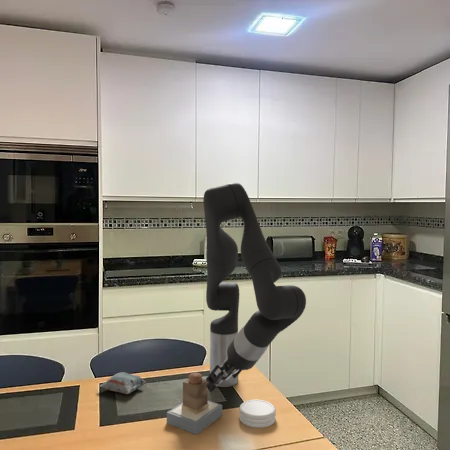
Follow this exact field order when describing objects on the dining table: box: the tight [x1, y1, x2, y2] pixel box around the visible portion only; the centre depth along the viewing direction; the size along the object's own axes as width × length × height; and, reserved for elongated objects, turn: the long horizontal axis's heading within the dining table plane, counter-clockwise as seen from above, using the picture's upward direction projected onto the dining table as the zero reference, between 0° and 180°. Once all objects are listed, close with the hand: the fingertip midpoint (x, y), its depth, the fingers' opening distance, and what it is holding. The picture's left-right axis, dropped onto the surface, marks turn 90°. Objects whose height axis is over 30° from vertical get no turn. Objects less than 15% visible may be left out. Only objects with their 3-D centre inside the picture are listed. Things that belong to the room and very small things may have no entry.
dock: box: [166, 399, 223, 435], centre depth 116 cm, size 12×10×3 cm
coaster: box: [238, 399, 277, 429], centre depth 117 cm, size 10×10×4 cm
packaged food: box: [99, 371, 147, 395], centre depth 134 cm, size 9×12×5 cm
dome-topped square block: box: [182, 372, 209, 415], centre depth 116 cm, size 5×5×9 cm
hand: (221, 381), depth 109 cm, fingers open, 8 cm apart
